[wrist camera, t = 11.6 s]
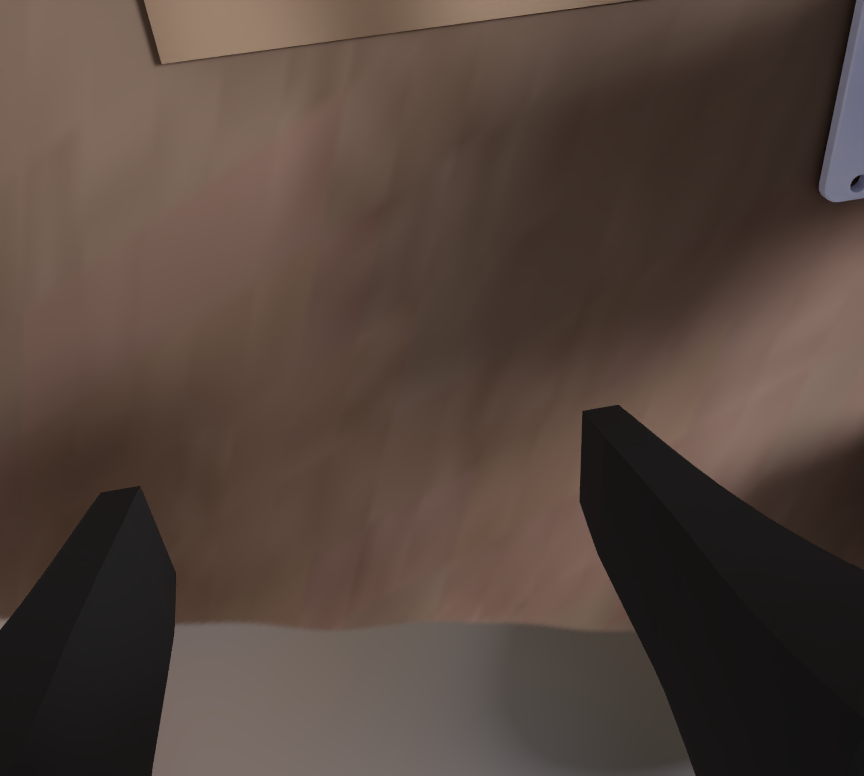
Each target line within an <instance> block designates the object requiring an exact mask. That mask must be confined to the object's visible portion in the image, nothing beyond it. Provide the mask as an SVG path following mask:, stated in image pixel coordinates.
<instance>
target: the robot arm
mask: <svg viewBox="0 0 864 776" xmlns="http://www.w3.org/2000/svg"><path fill="white" fill-rule="evenodd" d="M859 175H860V178H859V180H858V182H857V183H856V184H855V185H854V186H852V187H850V185H851V183H852V180H853V179H854V178H855V177H857V176H859ZM819 192H820V194H821V195H822V196H823V197H825V198H826V199H828V200H829V201H831V202H843V201H849V200H855V199H862V198H864V0H856V5H855V10H854V15H853V20H852V25H851V29H850V34H849V39H848V44H847V49H846V54H845V59H844V64H843V69H842V74H841V79H840V84H839V88H838V93H837V98H836V103H835V108H834V113H833V118H832V123H831V128H830V133H829V138H828V143H827V147H826V152H825V157H824V162H823V167H822V172H821V177H820V182H819ZM580 504H581V507H582V510H583V513H584V516H585V519H586V522H587V525H588V528H589V531H590V533H591V536H592V539H593V542H594V545H595V547H596V550H597V553H598V555H599V557H600V560H601V562H602V564H603V566H604V568H605V570H606V572H607V574H608V576H609V578H610V580H611V582H612V584H613V586H614V588H615V590H616V592H617V594H618V596H619V598H620V600H621V603H622V605H623V607H624V609H625V611H626V613H627V615H628V617H629V619H630V621H631V623H632V625H633V627H634V629H635V631H636V633H637V635H638V637H639V638H640V641H641V643H642V645H643V647H644V649H645V651H646V653H647V655H648V657H649V659H650V661H651V663H652V665H653V667H654V669H655V671H656V674H657V676H658V678H659V680H660V683H661V685H662V687H663V689H664V692H665V694H666V696H667V699H668V702H669V704H670V707H671V710H672V712H673V715H674V718H675V720H676V723H677V726H678V728H679V731H680V734H681V736H682V739H683V742H684V744H685V747H686V749H687V753H688V755H689V758H690V761H691V764H692V766H693V769H694V772H695V775H696V776H864V570H862V569H860V568H858V567H856V566H854V565H852V564H850V563H848V562H846V561H844V560H842V559H840V558H838V557H836V556H834V555H832V554H830V553H828V552H827V551H825V550H823V549H821V548H819V547H818V546H816V545H814V544H812V543H810V542H809V541H807V540H805V539H803V538H802V537H800V536H798V535H796V534H795V533H793V532H791V531H789V530H788V529H786V528H784V527H783V526H781V525H779V524H778V523H776V522H774V521H773V520H771V519H770V518H768V517H766V516H765V515H763V514H762V513H760V512H759V511H757V510H756V509H754V508H753V507H751V506H750V505H748V504H747V503H745V502H744V501H742V500H741V499H739V498H738V497H736V496H735V495H733V494H732V493H730V492H729V491H728V490H726V489H725V488H723V487H722V486H720V485H719V484H718V483H716V482H715V481H714V480H712V479H711V478H710V477H708V476H707V475H706V474H704V473H703V472H702V471H700V470H699V469H698V468H696V467H695V466H694V465H692V464H691V463H690V462H689V461H687V460H686V459H685V458H683V457H682V456H681V455H680V454H678V453H677V452H676V451H675V450H673V449H672V448H671V447H670V446H668V445H667V444H666V443H665V442H663V441H662V440H661V439H660V438H659V437H657V436H656V435H655V434H654V433H652V432H651V431H650V430H649V429H648V428H646V427H645V426H644V425H643V424H641V423H640V422H639V421H638V420H637V419H635V418H634V417H633V416H632V415H630V414H629V413H628V412H627V411H625V410H624V409H623V408H622V407H620V406H619V405H615V406H609V407H603V408H597V409H591V410H585V411H583V415H582V445H581V475H580ZM175 602H176V572H175V570H174V567H173V565H172V562H171V560H170V557H169V555H168V553H167V550H166V548H165V545H164V543H163V540H162V538H161V536H160V533H159V531H158V528H157V526H156V523H155V521H154V519H153V516H152V514H151V511H150V509H149V506H148V504H147V501H146V499H145V497H144V494H143V492H142V489H141V487H140V486H138V487H132V488H126V489H120V490H114V491H108V492H102V493H101V494H100V495H99V496H98V497H97V499H96V500H95V502H94V503H93V504H92V506H91V507H90V508H89V510H88V511H87V513H86V514H85V515H84V517H83V518H82V520H81V521H80V523H79V524H78V525H77V527H76V528H75V530H74V531H73V533H72V534H71V536H70V537H69V538H68V540H67V541H66V543H65V544H64V546H63V547H62V548H61V550H60V551H59V553H58V554H57V555H56V557H55V558H54V560H53V561H52V563H51V564H50V565H49V567H48V568H47V569H46V571H45V572H44V573H43V575H42V576H41V578H40V579H39V580H38V582H37V583H36V584H35V586H34V587H33V588H32V590H31V591H30V592H29V594H28V595H27V597H26V598H25V599H24V601H23V602H22V603H21V605H20V606H19V607H18V608H17V610H16V611H15V612H14V614H13V615H12V616H11V617H10V618H9V620H8V621H7V622H6V623H5V625H4V626H3V627H2V628H1V630H0V776H152V768H153V761H154V755H155V749H156V743H157V737H158V731H159V725H160V719H161V713H162V707H163V700H164V694H165V688H166V682H167V677H168V670H169V664H170V657H171V651H172V645H173V637H174V628H175Z"/></svg>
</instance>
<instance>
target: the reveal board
mask: <svg viewBox="0 0 864 776" xmlns="http://www.w3.org/2000/svg"><path fill="white" fill-rule="evenodd" d="M623 1H631V0H144V3H145V6H146V10H147V13H148V17H149V20H150V24H151V28H152V31H153V35H154V38H155V42H156V45H157V49H158V53H159V56H160V60H161V63H162V64H166V63H173V62H181V61H188V60H195V59H203V58H210V57H218V56H225V55H232V54H240V53H247V52H254V51H262V50H269V49H277V48H284V47H291V46H299V45H306V44H313V43H321V42H328V41H336V40H343V39H350V38H358V37H365V36H372V35H380V34H387V33H395V32H402V31H409V30H417V29H424V28H431V27H439V26H446V25H454V24H461V23H468V22H476V21H483V20H490V19H498V18H505V17H513V16H520V15H527V14H535V13H542V12H550V11H557V10H564V9H572V8H579V7H586V6H594V5H601V4H609V3H616V2H623Z"/></svg>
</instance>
